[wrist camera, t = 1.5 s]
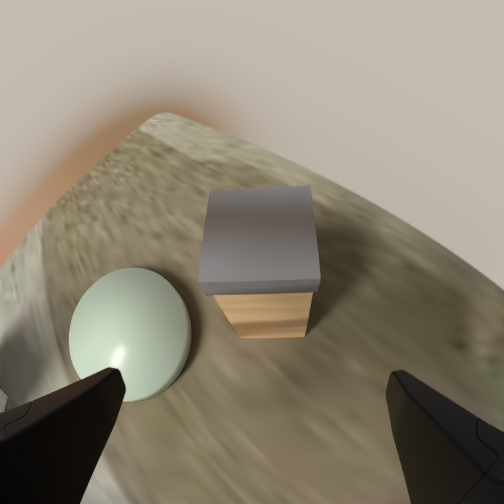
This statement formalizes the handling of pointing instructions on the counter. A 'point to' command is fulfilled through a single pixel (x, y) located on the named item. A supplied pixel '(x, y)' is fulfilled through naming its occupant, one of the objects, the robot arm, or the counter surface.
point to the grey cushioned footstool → (261, 259)
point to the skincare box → (3, 401)
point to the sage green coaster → (132, 331)
